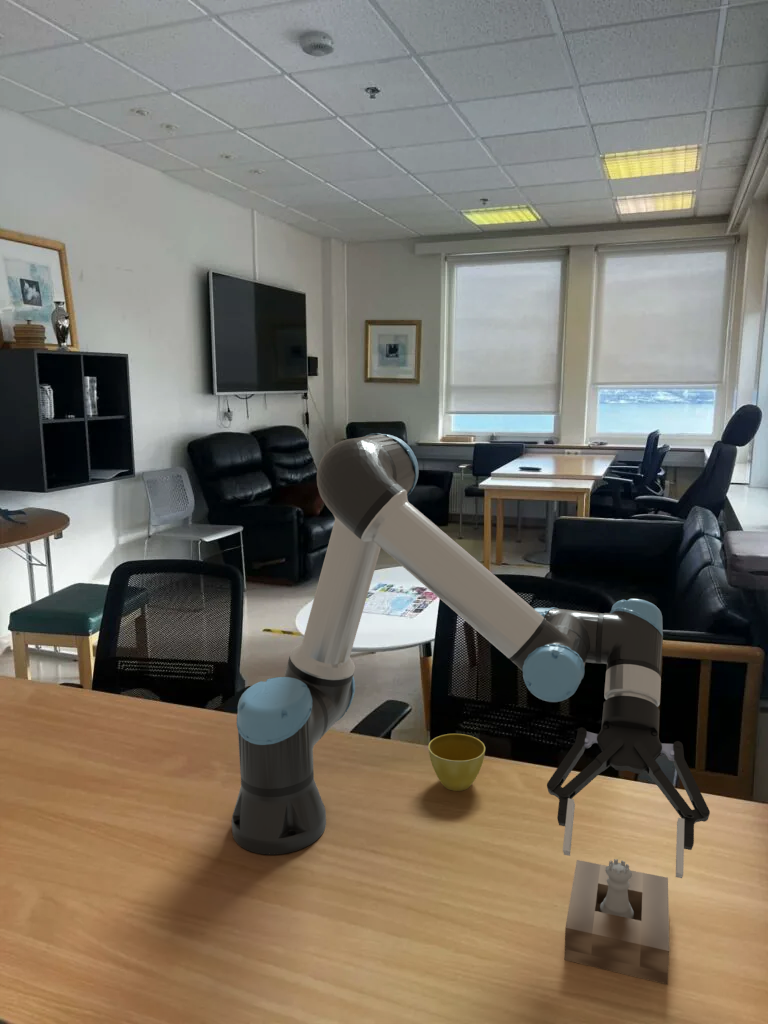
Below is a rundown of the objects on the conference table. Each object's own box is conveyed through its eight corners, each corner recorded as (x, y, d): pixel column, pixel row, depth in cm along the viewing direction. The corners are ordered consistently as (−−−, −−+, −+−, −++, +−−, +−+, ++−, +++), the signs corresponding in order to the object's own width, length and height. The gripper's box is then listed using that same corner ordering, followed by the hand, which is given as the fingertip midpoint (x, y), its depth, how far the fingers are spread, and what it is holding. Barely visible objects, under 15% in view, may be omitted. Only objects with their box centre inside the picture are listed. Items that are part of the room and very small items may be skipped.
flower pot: (483, 801, 128) (484, 762, 127) (425, 796, 130) (425, 758, 129) (486, 771, 138) (486, 735, 137) (431, 767, 140) (431, 731, 138)
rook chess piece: (636, 935, 95) (639, 878, 93) (600, 931, 95) (602, 874, 94) (631, 911, 99) (634, 856, 98) (596, 907, 100) (599, 853, 98)
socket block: (564, 959, 93) (565, 927, 92) (575, 888, 106) (576, 859, 105) (667, 984, 89) (669, 951, 88) (666, 907, 102) (667, 877, 101)
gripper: (725, 726, 104) (726, 891, 93) (544, 702, 113) (525, 850, 101) (731, 706, 98) (733, 879, 87) (539, 682, 107) (519, 837, 95)
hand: (621, 864), depth 94 cm, fingers open, 13 cm apart
